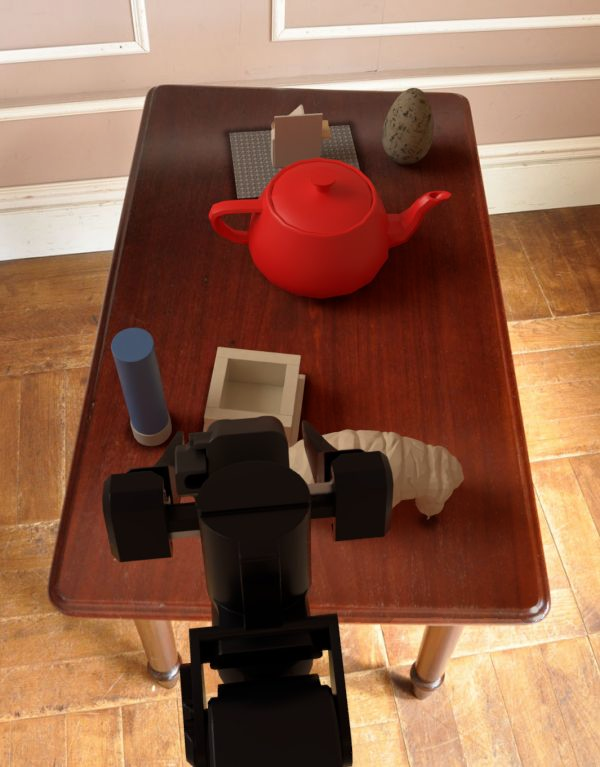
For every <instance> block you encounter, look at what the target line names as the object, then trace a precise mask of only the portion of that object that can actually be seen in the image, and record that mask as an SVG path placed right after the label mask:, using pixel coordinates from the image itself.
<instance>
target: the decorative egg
mask: <svg viewBox="0 0 600 767" xmlns="http://www.w3.org/2000/svg"><path fill="white" fill-rule="evenodd" d="M434 125H435V122H434V115H433V109H432V105H431V103H430V100H429V98H428V97H427V95H426V94H425V92H424V91H423V90H422V89H420V88H418V87H410V88H407V89H406V90H404V91H403V92H401V93H400V94H399V95H398V96H397V98H395V100H394V102H393V103H392V105H391V107H390V108H389V110H388V113H387V115H386V117H385V120H384V123H383V126H382V133H381V141H382V147H383V149H384V152H385V154H386V155H387V157H388V158H389V159H390V160H391V161H392V162H394V163H396V164H398V165H402V166H409V165H414V164H416V163H418V162H420V161H421V160H422V159H423V158H424V157H425V156H426V155H427V154H428V153H429V150H430V148H431V146H432V143H433V139H434V132H435V130H434V129H435V126H434Z"/></svg>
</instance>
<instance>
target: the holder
mask: <svg viewBox="0 0 600 767" xmlns="http://www.w3.org/2000/svg"><path fill="white" fill-rule="evenodd" d="M301 363H302V355H300V354H292V353H291V354H290V353H282V352H274V351H273V352H272V351H262V350H252V349H243V348H233V347H224V346H218V347H217V350H216V355H215V360H214V364H213V369H212V375H211V380H210V384H209V390H208V395H207V400H206V405H205V410H204V416H203V421H204V424H203V430H202V432H207V430H208V428H209V426H210V425H211V424H212V423H213V422H215V421H217V420H221V419H243V418H255V417H260V416H274V417H276V418H278V419H279V420H280V421H281V422H282V424H283V426H284V430H285V434H286V437H287V441H288V447H289V448H290V447H292V446H294V445H295V444H296V443H297V442H298V441H299V432H300V425H301V416H302V409H303V400H304V392H305V385H306V374H301Z"/></svg>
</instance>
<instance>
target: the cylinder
mask: <svg viewBox="0 0 600 767" xmlns="http://www.w3.org/2000/svg"><path fill="white" fill-rule="evenodd" d="M110 349H111V353H112V357H113V360H114V364H115V367H116V372H117V374H118V375H117V376H118V378H119V383H120V386H121V390H122V394H123V397H124V401H125V404H126V408H127V413H128V415H129V418H130V427H131V430H132V433H133V437H134V439H135V440H136V441H137V442H138V443H139V444H141V445H142V446H147V447H155V446H160V445H161V444H163V443H165V442H166V441H167V440H168V439H169V438H170V436H171V434H172V430H173V427H172V421H171V416H170V413H169V410H168V406H167V401H166V396H165V391H164V387H163V386H164V385H163V380H162V376H161V370H160V366H159V361H158V356H157V351H156V347H155V341H154V338H153V336H152V335H151V334H150V333H149V331H147V330H145V329H143V328H141V327H128V328H125V329H122V330H121V331H119V332H118V333H117V334H116V335H115V336H114V337H113V338H112V340H111V344H110Z"/></svg>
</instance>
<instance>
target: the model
mask: <svg viewBox="0 0 600 767" xmlns="http://www.w3.org/2000/svg"><path fill="white" fill-rule="evenodd" d="M321 435H322V436H323V437H324V438H325V440H326V441H327V442H329V443H330V444H331V445H332V446H333V447H335V448H336V449H337V450H346V449H357V448H359V449H362V450H364V451H365V452H370V451H381V452H382V453H383V454H385V455H386V456H387V457H388V460H389V463H390V466H391V469H392V474H393V483H394V488H393V505H392V510H393V509H394V508H395V507H396V506H397V505H398V504H399V503H400V502H402V501H406V500H413V499H414V501H415V506H416V507H417V510H418V511H419V512H420V513H421V514H423V515H426V516H427V518H426V520H429V519H430V517H431V518H432V516H435V515H437V514H440V513H441V512H442V511H443V508H444V507H445V503H446V501H447V500H448V499H449V498H450V497H451V496H452V494H453V492H454V490H456V489H457V488H459V487H460V485H461V483H463V481H464V480H465V477H464V472H463V467H462V464H461V463H460V461H458V458H457V456H456V455H453V454H451V452H450V451H449V450H448V449H447V448H446V447H444V446H441V445H436V446H435V445H433V444H426V443H424V442H423V441H421V440H418V439H415V438H412V437H409V436H401V435H400V434H399V433H397V432H394V431H389V432H387V431H383V432H381V431H379V430H369V429H367V430H366V429H365V430H364V429H359V430H353V429H343V430H340V431H335V432H330V433H325V434H321ZM289 463H290V468H291V469H292V470H294V471H295V472H297V473H298V474H299V475H300V476H301V477H302V478H303V479H304V480H305V482H306V483H307V484H313V483H314V480H313V476H312V473H311V469H310V466H309V462H308V459H307V455H306V452H305V448H304V441H303V439H300V440H298V441H297V443H296V444H295V445H294V446H292V447H290V448H289Z"/></svg>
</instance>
